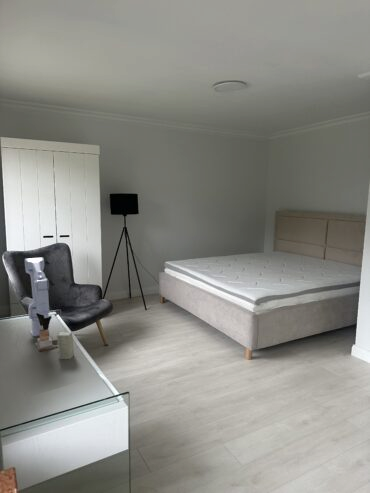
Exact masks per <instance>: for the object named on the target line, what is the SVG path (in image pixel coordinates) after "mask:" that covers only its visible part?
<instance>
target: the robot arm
mask: <svg viewBox="0 0 370 493" xmlns="http://www.w3.org/2000/svg"><path fill="white" fill-rule="evenodd" d="M24 267H25V268H24V270H25V273H26V274H29V276H30V283H31V284H30V285H31V296H32V302H31V303H30V304H29V305H28V307H27V308H28V319H30V320H31V330H30V331H29V332H30V333H31V335H32V337H38V336H39V337H40V335H39V330H40V329H44V330H49V327H50V323H51V320H52V315H49V314H50V312H51V311H50V310H51V309H50V302H49V301H50V300H49V290H50V283H49V279H48V278H47V277H46V274H45V272H44V269H45V259H44V257H32V258H31V257H30V258H28V257H27V258H24Z"/></svg>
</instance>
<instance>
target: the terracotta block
mask: <svg viewBox="0 0 370 493" xmlns="http://www.w3.org/2000/svg"><path fill="white" fill-rule="evenodd" d="M49 336H50V330H49V329H48V330H44V329H40V330H39V338H40V340H41V341H45V340H50V339H49Z"/></svg>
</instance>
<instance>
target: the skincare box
mask: <svg viewBox="0 0 370 493" xmlns="http://www.w3.org/2000/svg"><path fill="white" fill-rule="evenodd" d="M56 338H57V342H58V347H57V353H58V359H63V360H65V359H66V360H68V359H69V360H71V359H72V358H73V356H74V355H75V352H74V351H75V350H74V338H73V332H72V331H60V332H59V333H58V334H56Z"/></svg>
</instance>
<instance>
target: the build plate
mask: <svg viewBox="0 0 370 493" xmlns="http://www.w3.org/2000/svg"><path fill="white" fill-rule="evenodd" d="M49 339H50V340H45V341H41V340H40V337H39V338H37V342H35V343H34V345H35V347H36V349H37V351H38V352H43V351H47V350H52V349H56V348H57V349H58V342H57V337H51V336H50V335H49Z"/></svg>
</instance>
